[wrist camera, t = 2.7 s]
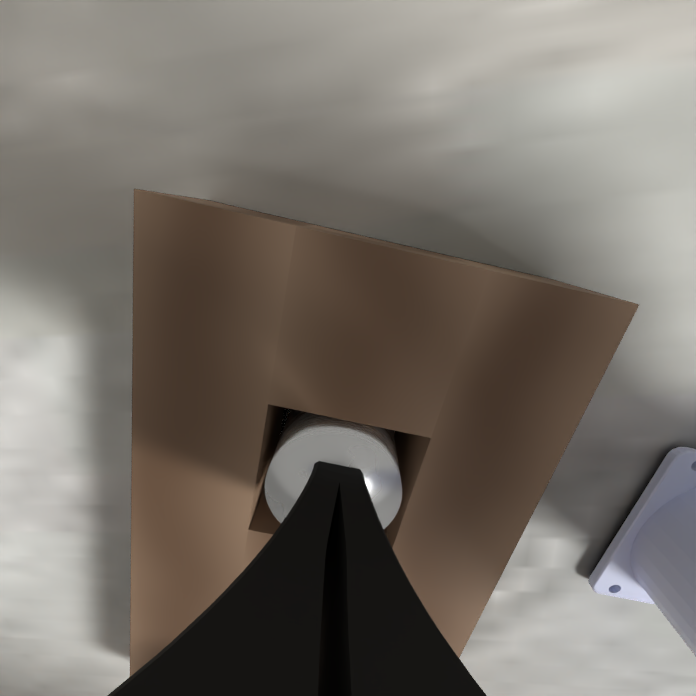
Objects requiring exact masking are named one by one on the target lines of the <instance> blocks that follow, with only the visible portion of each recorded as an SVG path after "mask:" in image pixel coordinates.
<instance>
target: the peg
mask: <svg viewBox="0 0 696 696" xmlns="http://www.w3.org/2000/svg"><path fill="white" fill-rule="evenodd" d="M318 461H322V462H327V463H332V464H337V465H341V466H346V467H352V468H356V469H360V470H361V471H362V473H363V475H364V479H365V482H366V485H367V488H368V491H369V494H370V497H371V500H372V502H373V505H374V508H375V510H376V513H377V515H378V518H379V520H380V522H381V524H382V527H383V529H385V528H386V527H387V526H388V525H389V524H390V523H391V521H392V520H393V519H394V517H395V516H396V514H397V512H398V510H399V508H400V504H401V500H402V484H401V477H400V471H399V464H398V458H397V452H396V445H395V439H394V433H393V430H390V429H385V428H380V427H375V426H371V425H366V424H361V423H356V422H351V421H347V420H342V419H337V418H332V417H327V416H323V415H318V414H313V413H308V412H303V411H299V410H294V409H291V410H290V413H289V415H288V418H287V421H286V423H285V426H284V429H283V431H282V434H281V437H280V439H279V442H278V445H277V447H276V450H275V453H274V455H273V458H272V461H271V463H270V466H269V468H268V471H267V474H266V478H265V496H266V500H267V503H268V506H269V508H270V510H271V512H272V513H273V515H274V516H275V518H276V519H277V520H278V521H279V522H280V523H282V522H283V520H284V519H285V518H286V516H287V515H288V513H289V512H290V510H291V509H292V507H293V506H294V504H295V502H296V501H297V499H298V498H299V496H300V494H301V493H302V491H303V489H304V487H305V485H306V483H307V482H308V479H309V477H310V475H311V473H312V470H313V467H314V463H316V462H318Z"/></svg>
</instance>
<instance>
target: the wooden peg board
mask: <svg viewBox="0 0 696 696" xmlns="http://www.w3.org/2000/svg"><path fill="white" fill-rule="evenodd" d="M638 306H639V305H638V304H635V303H632V302H628V301H625V300H621V299H618V298H614V297H611V296H607V295H604V294H601V293H597V292H594V291H590V290H587V289H583V288H580V287H577V286H573V285H570V284H566V283H563V282H559V281H556V280H552V279H548V278H544V277H539V276H535V275H531V274H526V273H522V272H518V271H513V270H509V269H505V268H500V267H496V266H492V265H487V264H483V263H479V262H474V261H470V260H466V259H461V258H457V257H452V256H448V255H444V254H439V253H435V252H431V251H426V250H422V249H418V248H413V247H409V246H405V245H400V244H396V243H392V242H387V241H383V240H379V239H374V238H370V237H366V236H361V235H357V234H353V233H348V232H344V231H339V230H335V229H331V228H326V227H322V226H318V225H313V224H309V223H305V222H300V221H296V220H292V219H287V218H283V217H279V216H274V215H270V214H266V213H261V212H257V211H253V210H248V209H244V208H240V207H235V206H231V205H226V204H222V203H218V202H213V201H209V200H203V199H197V198H190V197H184V196H177V195H171V194H164V193H158V192H151V191H145V190H138V189H134V245H133V365H132V485H131V605H130V677H131V676H132V675H133V674H134V673H135V672H137V671H138V670H139V669H140V668H141V667H143V666H144V665H145V664H146V663H147V662H149V661H150V660H151V659H152V658H153V657H155V656H156V655H157V654H158V653H159V652H160V651H162V650H163V649H164V648H165V647H166V646H167V645H168V644H169V643H171V642H172V641H173V640H174V639H175V638H176V637H177V636H178V635H179V634H180V633H181V632H182V631H184V630H185V629H186V628H187V627H188V626H189V625H190V624H191V623H192V622H193V621H194V620H195V619H196V618H197V617H198V616H200V615H201V614H202V613H203V612H204V611H205V610H206V609H207V608H208V607H209V606H210V605H211V604H212V603H213V602H214V601H215V600H216V599H217V598H218V597H219V596H220V595H221V594H222V593H223V592H224V591H225V590H226V589H227V588H228V587H229V586H230V585H231V583H232V582H233V581H234V580H235V579H236V578H237V577H238V576H239V575H240V574H241V573H242V572H243V571H244V569H245V568H246V567H247V566H248V565H249V564H250V563H251V561H252V560H253V559H254V558H255V557H256V556H257V554H258V553H259V552H260V551H261V550H262V548H263V547H264V546H265V545H266V543H267V542H268V541H269V539H270V538H271V537H272V536H273V534H274V533H275V531H276V530H277V529H278V527H279V526H280V525H281V523H280V522H279V521H278V520H277V519H276V518H275V516H274V515H273V513H272V512H271V510H270V508H269V506H268V503H267V500H266V496H265V478H266V474H267V471H268V468H269V466H270V463H271V461H272V458H273V455H274V453H275V450H276V447H277V445H278V442H279V437H280V431H281V425H282V420H283V414H284V408H289V409H294V410H299V411H303V412H308V413H313V414H318V415H323V416H327V417H332V418H337V419H342V420H347V421H351V422H356V423H361V424H366V425H371V426H375V427H380V428H385V429H390V430H395V434H394V439H395V445H396V452H397V458H398V464H399V471H400V477H401V484H402V500H401V504H400V508H399V510H398V512H397V514H396V516H395V517H394V519H393V520H392V521H391V523H390V524H389V525H388V526H387V527H386V528H385V529H384V531H385V534H386V536H387V538H388V540H389V542H390V545H391V547H392V549H393V551H394V553H395V555H396V557H397V559H398V561H399V563H400V565H401V567H402V569H403V570H404V572H405V574H406V576H407V578H408V580H409V582H410V583H411V585H412V587H413V589H414V590H415V592H416V594H417V595H418V597H419V599H420V600H421V602H422V604H423V605H424V607H425V609H426V610H427V612H428V613H429V615H430V617H431V618H432V620H433V621H434V623H435V624H436V626H437V628H438V629H439V631H440V632H441V634H442V635H443V636H444V638H445V639H446V641H447V642H448V643H449V645H450V646H451V648H452V649H453V651H454V652H455V653H456V655H457V656H458V658H459V657H460V655H461V653H462V651H463V649H464V647H465V645H466V643H467V641H468V639H469V637H470V635H471V634H472V632H473V630H474V628H475V626H476V624H477V622H478V620H479V618H480V616H481V614H482V612H483V610H484V608H485V606H486V604H487V602H488V600H489V598H490V596H491V594H492V592H493V590H494V588H495V586H496V585H497V583H498V581H499V579H500V577H501V575H502V573H503V571H504V569H505V567H506V565H507V563H508V561H509V559H510V557H511V555H512V553H513V551H514V549H515V547H516V545H517V543H518V541H519V539H520V537H521V536H522V534H523V532H524V530H525V528H526V526H527V524H528V522H529V520H530V518H531V516H532V514H533V512H534V510H535V508H536V506H537V504H538V502H539V500H540V498H541V496H542V494H543V492H544V490H545V488H546V487H547V485H548V483H549V481H550V479H551V477H552V475H553V473H554V471H555V469H556V467H557V465H558V463H559V461H560V459H561V457H562V455H563V453H564V451H565V449H566V447H567V445H568V443H569V441H570V439H571V438H572V436H573V434H574V432H575V430H576V428H577V426H578V424H579V422H580V420H581V418H582V416H583V414H584V412H585V410H586V408H587V406H588V404H589V402H590V400H591V398H592V396H593V394H594V392H595V390H596V389H597V387H598V385H599V383H600V381H601V379H602V377H603V375H604V373H605V371H606V369H607V367H608V365H609V363H610V361H611V359H612V357H613V355H614V353H615V351H616V349H617V347H618V345H619V343H620V341H621V340H622V338H623V336H624V334H625V332H626V330H627V328H628V326H629V324H630V322H631V320H632V318H633V316H634V314H635V312H636V310H637V308H638Z"/></svg>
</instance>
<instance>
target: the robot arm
mask: <svg viewBox="0 0 696 696" xmlns="http://www.w3.org/2000/svg"><path fill="white" fill-rule="evenodd" d="M588 581H589V584H590V586H591V587H592V589H593V590H594V591H595V592H596V593H599V594H604V595H609V596H614V597H620V598H625V599H630V600H635V601H640V602H645V603H650V604H656V606H657V607H658V608H659V609H660V611H661V612H662V613H663V615H664V616H665V617H666V618H667V620H668V621H669V622H670V624H671V625H672V626H673V628H674V629H675V630H676V631H677V633H678V634H679V635H680V637H681V638H682V639H683V640H684V642H685V643H686V644H687V646H688V647H689V648H690V649H691V651H692V652H693V653H694V655H695V656H696V449H693V448H688V447H677V448H674V449H672V450H671V451H670V452H669V453H668V454H667V455H666V457H665V458H664V460H663V462H662V463H661V465H660V466H659V468H658V469H657V471H656V473H655V474H654V476H653V477H652V479H651V481H650V482H649V484H648V485H647V487H646V488H645V490H644V492H643V493H642V495H641V496H640V498H639V500H638V501H637V503H636V504H635V506H634V507H633V509H632V511H631V512H630V514H629V515H628V517H627V519H626V520H625V522H624V523H623V525H622V526H621V528H620V530H619V531H618V533H617V534H616V536H615V538H614V539H613V541H612V542H611V544H610V545H609V547H608V549H607V550H606V552H605V553H604V555H603V557H602V558H601V560H600V561H599V563H598V564H597V566H596V568H595V569H594V571H593V572H592V574H591V576H590V577H589V580H588ZM108 696H486V694H485V693H484V692H483V690H482V689H481V688H480V687H479V685H478V684H477V683H476V681H475V680H474V679H473V678H472V676H471V675H470V673H469V672H468V670H467V669H466V668H465V666H464V665H463V663H462V662H461V660H460V659H459V658H458V656H457V655H456V653H455V652H454V651H453V649H452V648H451V646H450V645H449V643H448V642H447V641H446V639H445V638H444V636H443V635H442V634H441V632H440V631H439V629H438V628H437V626H436V624H435V623H434V621H433V620H432V618H431V617H430V615H429V613H428V612H427V610H426V609H425V607H424V605H423V604H422V602H421V600H420V599H419V597H418V595H417V594H416V592H415V590H414V589H413V587H412V585H411V583H410V582H409V580H408V578H407V576H406V574H405V572H404V570H403V569H402V567H401V565H400V563H399V561H398V559H397V557H396V555H395V553H394V551H393V549H392V547H391V545H390V542H389V540H388V538H387V536H386V534H385V531H384V529H383V527H382V524H381V522H380V520H379V518H378V515H377V513H376V510H375V508H374V505H373V502H372V500H371V497H370V494H369V491H368V488H367V485H366V482H365V479H364V475H363V473H362V471H361V470H360V469H356V468H352V467H346V466H341V465H337V464H332V463H327V462H322V461H318V462H316V463H314V467H313V470H312V473H311V475H310V477H309V479H308V482H307V483H306V485H305V487H304V489H303V491H302V493H301V494H300V496H299V498H298V499H297V501H296V502H295V504H294V506H293V507H292V509H291V510H290V512H289V513H288V515H287V516H286V518H285V519H284V520H283V522H282V523H281V525H280V526H279V527H278V529H277V530H276V531H275V533H274V534H273V536H272V537H271V538H270V539H269V541H268V542H267V543H266V545H265V546H264V547H263V548H262V550H261V551H260V552H259V553H258V554H257V556H256V557H255V558H254V559H253V560H252V561H251V563H250V564H249V565H248V566H247V567H246V568H245V569H244V571H243V572H242V573H241V574H240V575H239V576H238V577H237V578H236V579H235V580H234V581H233V582H232V583H231V585H230V586H229V587H228V588H227V589H226V590H225V591H224V592H223V593H222V594H221V595H220V596H219V597H218V598H217V599H216V600H215V601H214V602H213V603H212V604H211V605H210V606H209V607H208V608H207V609H206V610H205V611H204V612H203V613H202V614H201V615H200V616H198V617H197V618H196V619H195V620H194V621H193V622H192V623H191V624H190V625H189V626H188V627H187V628H186V629H185V630H184V631H182V632H181V633H180V634H179V635H178V636H177V637H176V638H175V639H174V640H173V641H172V642H171V643H169V644H168V645H167V646H166V647H165V648H164V649H163V650H162V651H160V652H159V653H158V654H157V655H156V656H155V657H153V658H152V659H151V660H150V661H149V662H147V663H146V664H145V665H144V666H143V667H141V668H140V669H139V670H138V671H137V672H135V673H134V674H133V675H132V676H131V677H129V678H128V679H127V680H126V681H125V682H123V683H122V684H121V685H120V686H119V687H117V688H116V689H115V690H114V691H113V692H111V693H110V694H109V695H108Z"/></svg>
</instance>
